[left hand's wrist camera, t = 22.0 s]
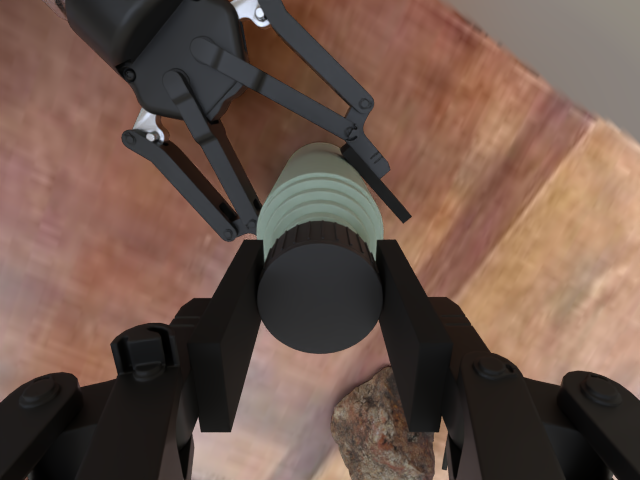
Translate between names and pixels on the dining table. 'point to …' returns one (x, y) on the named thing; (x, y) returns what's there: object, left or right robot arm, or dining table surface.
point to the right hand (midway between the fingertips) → (365, 245)
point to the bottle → (319, 197)
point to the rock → (380, 434)
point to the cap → (320, 288)
